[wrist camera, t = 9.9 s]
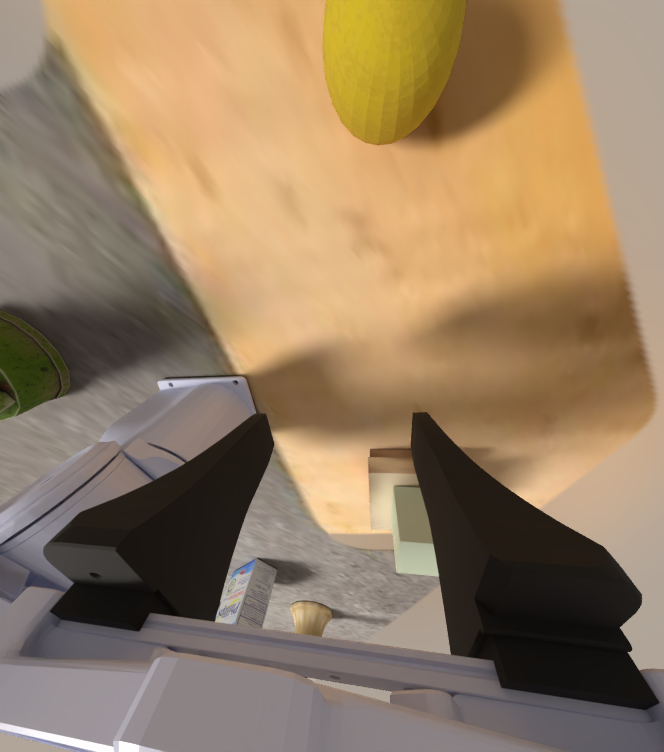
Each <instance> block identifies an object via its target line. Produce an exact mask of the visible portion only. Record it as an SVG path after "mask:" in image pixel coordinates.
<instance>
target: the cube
mask: <svg viewBox="0 0 664 752" xmlns="http://www.w3.org/2000/svg"><path fill="white" fill-rule="evenodd" d="M391 522H392V532H393V542H394V552H395V562H396V572H398V573H409V574H420V575H430V576H439V573H438V568H437V562H436V556H435V550H434V545H433V539H432V534H431V528H430V523H429V519H428V515H427V511H426V508H425V504H424V501H423V497H422V493H421V490H420V488H418V487H398V486H393V497H392V510H391Z"/></svg>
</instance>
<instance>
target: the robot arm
mask: <svg viewBox="0 0 664 752" xmlns="http://www.w3.org/2000/svg"><path fill="white" fill-rule="evenodd" d="M235 380H236V381H237V382H238V383H236V382H235ZM158 386H159V388H160V391H159V392H157V393H156V394H154V395H153V396H152V397H150V398H149V399H147V400H146V401H145V402H143V403H142V404H140V405H139V406H137V407H136V408H135V409H133V410H132V411H130V412H129V413H128V414H126V415H125V416H123V417H122V418H121V419H119V420H118V421H116V422H115V423H114V424H112V425H111V426H110V427H109V428H108V429H107V430H106V431H105V433H104V434H103V436H102V437H101V439H100V441H99V442H96V443H94V444H92V445H90V446H88V447H86V448H84V449H83V450H81V451H79V452H78V453H76V454H75V455H73V456H71V457H70V458H68V459H67V460H65V461H64V462H62V463H61V464H59V465H58V466H56V467H55V468H53V469H52V470H50V471H49V472H47V473H46V474H44V475H43V476H41V477H40V478H39V479H37V480H36V481H34V482H33V483H31V484H30V485H29V486H27V487H26V488H24V489H23V490H22V491H20V492H19V493H17V494H16V495H15V496H13V497H12V498H11V499H9V500H8V501H7V502H5V503H4V504H3V505H1V506H0V732H1V733H5V734H9V735H13V736H17V737H21V738H24V739H28V740H32V741H36V742H40V743H43V744H47V745H51V746H55V747H59V748H62V749H66V750H70V751H74V752H664V669H644V670H640V671H639V670H638V668H637V666H636V665H635V663H634V662H633V660H632V659H631V657H630V656H629V654H628V652H631V651H632V647H631V644H630V643H629V641H628V640H627V638H626V636H625V635H624V633H623V632H622V631H621V629H620V627H621V626H622V625H623V624H624V623H625V622H626V621H627V620H628V619H629V618H631V617H632V616H633V615H634V614H635V613H636V612H637V611H638V609H639V608H640V606H641V604H642V594H641V593H640V591H639V590H638V589H637V588H636V586H635V585H634V584H633V582H632V581H631V580H630V578H629V577H628V576H627V574H626V573H625V572H624V570H623V569H622V568H621V567H620V565H619V564H618V563H617V562H616V561H615V559H614V558H613V557H612V556H611V555H610V553H609V552H608V551H607V550H606V549H605V548H604V547H603V546H601V545H599V544H598V543H596V542H594V541H592V540H591V539H589V538H587V537H585V536H583V535H582V534H580V533H578V532H576V531H574V530H573V529H571V528H569V527H567V526H565V525H564V524H562V523H560V522H558V521H557V520H555V519H553V518H552V517H550V516H549V515H547V514H545V513H544V512H542V511H541V510H539V509H537V508H536V507H534V506H533V505H531V504H530V503H528V502H526V501H525V500H523V499H522V498H520V497H519V496H518V495H516V494H515V493H513V492H512V491H511V490H509V489H508V488H506V487H505V486H503V485H502V484H501V483H499V482H498V481H497V480H495V479H494V478H493V477H492V476H490V475H489V474H488V473H487V472H485V471H484V470H483V469H482V468H480V467H479V466H478V465H477V464H476V463H475V462H474V461H472V460H471V459H470V458H469V457H468V456H467V455H466V454H465V453H464V452H463V451H462V450H461V449H460V448H459V447H458V446H457V445H456V444H455V443H454V442H453V441H452V440H451V439H450V438H449V437H448V436H447V435H446V434H445V433H444V432H443V430H442V429H441V428H440V427H439V426H438V425H437V424H436V422H435V421H434V420H433V419H432V418H431V416H430V415H429V414H428V413H427V412H419V413H413V419H412V434H411V451H412V457H413V463H414V468H415V472H416V476H417V479H418V483H419V486H420V490H421V493H422V497H423V501H424V504H425V508H426V511H427V515H428V519H429V523H430V528H431V534H432V539H433V545H434V550H435V556H436V562H437V568H438V573H439V579H440V586H441V592H442V598H443V604H444V611H445V617H446V624H447V631H448V637H449V644H450V651H451V655H448V654H441V653H434V652H427V651H420V650H413V649H405V648H398V647H391V646H383V645H377V644H370V643H362V642H355V641H348V640H341V639H334V638H327V637H320V636H312V635H305V634H298V633H291V632H284V631H277V630H269V629H262V628H255V627H248V626H241V625H234V624H226V623H219V622H215V619H216V615H217V611H218V607H219V603H220V599H221V595H222V591H223V587H224V583H225V580H226V576H227V573H228V569H229V566H230V562H231V559H232V556H233V552H234V549H235V546H236V543H237V540H238V536H239V533H240V530H241V528H242V525H243V522H244V519H245V516H246V513H247V511H248V508H249V506H250V503H251V501H252V499H253V497H254V495H255V492H256V490H257V488H258V486H259V484H260V481H261V479H262V477H263V475H264V472H265V470H266V468H267V466H268V463H269V461H270V457H271V454H272V451H273V447H274V441H273V437H272V434H271V430H270V427H269V423H268V419H267V416H266V414H257V413H256V410H255V407H254V403H253V400H252V397H251V393H250V390H249V387H248V383H247V380H246V379H245V378H244V377H242V376H234V377H206V378H179V379H161V380H159V381H158ZM305 677H309V678H314V679H320V680H326V681H332V682H339V683H344V684H350V685H356V686H362V687H368V688H374V689H380V690H386V691H392V693H391V695H390V702H391V703H388V702H384V701H381V700H377V699H373V698H370V697H366V696H362V695H358V694H355V693H351V692H347V691H344V690H340V689H336V688H332V687H329V686H325V685H320V684H317V683H314V682H313V681H312V680H310V679H307V678H305Z"/></svg>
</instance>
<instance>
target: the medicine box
mask: <svg viewBox="0 0 664 752" xmlns="http://www.w3.org/2000/svg"><path fill="white" fill-rule="evenodd" d="M276 573H277V569H275V568H274V567H272V566H270V565H269V564H267V563H265V562H263V561H261V560H259V559H258V558H256V559H255V560H253V561H251V562H250V563H248V564H246V565H245V566H243V567H241V568H239V569H238V570H236V571H234V572H233V575H232V577H231V580H230V582H229V585H228V587H227V590H226V592H225V595H224V598H223V600H222V603H221V605H220V608H219V610H218V613H217V615H216V619H215V622H219V623H226V624H234V625H241V626H248V627H255V628H262V626H263V623H264V619H265V615H266V611H267V607H268V604H269V600H270V596H271V592H272V588H273V585H274V581H275V577H276Z"/></svg>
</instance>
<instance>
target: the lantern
mask: <svg viewBox="0 0 664 752" xmlns="http://www.w3.org/2000/svg"><path fill="white" fill-rule="evenodd" d="M70 386H71V385H70V376H69V370H68V369H67V367H66V365H65V363H64V361H63V359H62V357H61V355H60V353H59V352H58V351H57V350H56V349H55V348H54V347H53V346H52V344H51V343H50V342H49V341H48V340H47V339H46V338H45V337H44V335H42V334H41V333H40V332H38V331H37V330H36V329H34V328H33V327H32V326H30V325H29V324H28V323H26V322H25V321H24V320H22V319H20V318H18V317H16V316H13V315H11V314H9V313H6V312H4V311H2V310H0V420H2V421H4V420H7V419H10V418H13V417H15V416H17V415H20V414H22V413H24V412H26V411H28V410H30V409H32V408H34V407H36V406H38V405H40V404H42V403H44V402H48V401H51V400H54V399H57V398H60V397H63V396H65V395H66V393H67V391H68V390H69V388H70Z"/></svg>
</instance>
